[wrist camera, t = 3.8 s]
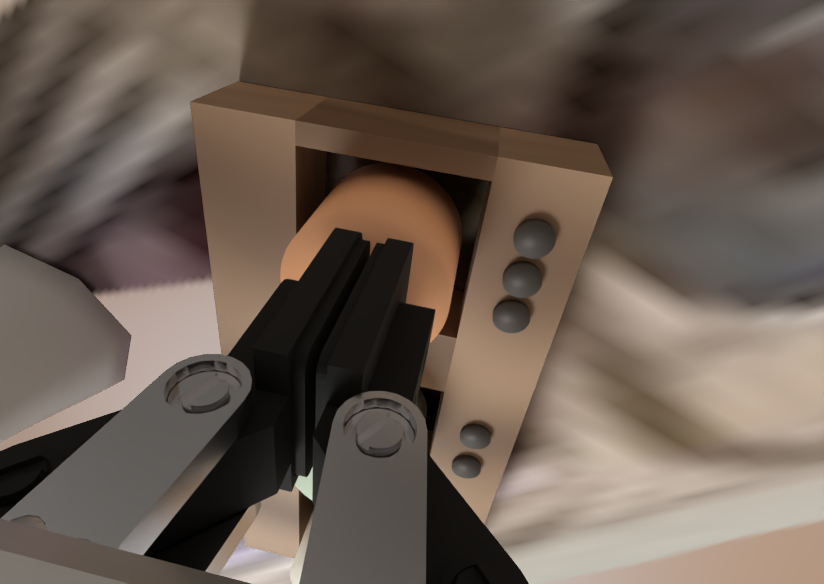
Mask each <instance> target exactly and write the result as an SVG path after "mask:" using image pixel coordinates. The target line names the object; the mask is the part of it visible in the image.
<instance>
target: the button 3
mask: <svg viewBox="0 0 824 584" xmlns="http://www.w3.org/2000/svg"><path fill="white" fill-rule="evenodd" d="M335 228H341V229H347V230H352V231H357V232H361V233H362V237H363V240H367V241H370V255H371V253H372V251H373V249H374V247H375V245H376V243H382V244H385V242H386V240H387V239H388V238H392V239H397V240H402V241H407V242H412V243H414V247H413V256H412V263H411V270H410V277H409V284H408V291H407V298H406V303H407V304H412V305H417V306H422V307H427V308H431V309H436V311H435V317H434V322H433V328H432V333H431V338H430V343H431V342H432V341H433V340H434V339H435V337H436V336H437V335H438V334H439V332H440V331H441V330H442V328H443V326H444V324H445V322H446V320H447V316H448V313H449V309H450V303H451V298H452V293H453V287H454V282H455V276H456V271H457V266H458V260H459V255H460V250H461V244H462V224H461V219H460V216H459V213H458V210H457V208H456V206H455V204H454V202H453V200H452V199H451V197H450V196H449V194H448V193H447V192H446V191H445V190H444V188H443V187H442V186H441V185H439V184H438V183H437V182H436V181H435V180H434V179H432V178H431V177H429V176H428V175H426V174H425V173H423V172H421V171H419V170H417V169H414V168H411V167H409V166H404V165H399V164H393V163H378V164H371V165H367V166H364V167H361V168H359V169H356V170H354V171H352V172H351V173H349V174H348V175H346V176H345V177H344V178H343V179H342V180H340V181H339V182H338V184H337V185H336V186H335V187H334V188H333V190H332V191H331V192H330V193H329V195H328V196H327V197H326V198H325V200H324V201H323V202H322V203H321V205H320V206H319V207H318V208H317V209H316V211H315V212H314V213H313V214H312V216H311V217H310V218H309V219H308V221H307V222H306V223H305V224H304V226H303V227H302V228H301V229H300V231H299V232H298V233H297V234H296V236H295V237H294V238H293V239H292V240H291V242H290V244H289V245H288V247H287V249H286V251H285V253H284V256H283V258H282V263H281V271H280V279H281V282H282V281H283V280H284V279H292V280H297V281H299V279H300V278H301V276H302V275H303V273H304V272H305V270H306V269H307V268H308V266H309V265H310V263H311V262H312V260H313V259H314V257H315V256H316V254H317V253H318V252H319V250H320V249H321V247H322V246H323V244H324V243H325V241H326V240H327V238H328V237H329V236H330V234H331V233H332V231H333V230H334V229H335Z"/></svg>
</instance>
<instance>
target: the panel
mask: <svg viewBox="0 0 824 584" xmlns="http://www.w3.org/2000/svg"><path fill="white" fill-rule="evenodd" d="M190 105H191V113H192V121H193V129H194V137H195V145H196V153H197V161H198V169H199V177H200V185H201V193H202V201H203V209H204V217H205V225H206V233H207V241H208V249H209V257H210V265H211V273H212V281H213V289H214V297H215V305H216V313H217V321H218V329H219V337H220V345H221V353H222V355H225V356H227V355H228V354H229V353H230V351H231V350H232V349H233V347H234V346H235V345H236V343H237V342H238V340H239V339H240V338H241V336H242V335H243V334H244V332H245V331H246V330H247V328H248V327H249V325H250V324H251V323H252V321H253V320H254V319H255V317H256V316H257V315H258V313H259V312H260V311H261V309H262V308H263V306H264V305H265V304H266V302H267V301H268V300H269V298H270V297H271V296H272V294H273V293H274V292H275V290H276V289H277V287H278V286H279V285H280V283H281V279H280V271H281V263H282V258H283V256H284V253H285V251H286V249H287V247H288V245H289V244H290V242H291V240H292V239H293V238H294V237H295V236H296V234H297V233H298V232H299V231H300V229H301V228H302V227H303V226H304V224H305V223H306V222H307V221H308V219H309V218H310V217H311V216H312V214H313V213H314V212H315V211H316V209H317V208H318V207H319V206H320V205H321V203H322V202H323V201H324V200H325V189H326V152H327V151H328V152H333V153H339V154H344V155H350V156H355V157H361V158H366V159H371V160H377V161H382V162H388V163H393V164H399V165H404V166H410V167H415V168H421V169H426V170H432V171H437V172H443V173H448V174H454V175H459V176H465V177H470V178H476V179H481V180H487V181H488V185H487V190H486V194H485V199H484V203H483V208H482V212H481V217H480V221H479V226H478V230H477V235H476V239H475V244H474V248H473V253H472V257H471V262H470V266H469V271H468V275H467V280H466V284H465V289H464V291H460V290H455V289H453V293H452V298H451V303H450V309H449V313H448V316H447V320H446V322H445V324H444V326H443V328H442V330H441V331H440V332H439V334H438V335H437V336H436V337H435V339H434V340H433V341H432V342H431V343H429V348H428V353H427V358H426V363H425V367H424V372H423V376H422V380H421V385H420V387H424V388H429V389H434V390H438V391H442V392H441V397H440V401H439V406H438V410H437V415H436V419H435V424H434V428H433V431H430V430H427V453H428V454H429V455H430V456H431V458H432V459H433V460H434V462H435V463H436V464H437V465H438V467H439V468H440V469H441V470H442V472H443V473H444V474H445V475H446V477H447V478H448V479H449V480H450V482H451V483H452V484H453V486H454V487H455V488H456V489H457V491H458V492H459V493H460V494H461V496H462V497H463V498H464V499H465V501H466V502H467V503H468V505H469V506H470V507H471V508H472V510H473V511H474V512H475V513H476V515H477V516H478V517H479V518H480V520H481V521H482V522H483V523H484V524H485V522H486V519H487V516H488V514H489V511H490V508H491V505H492V503H493V500H494V497H495V495H496V492H497V489H498V487H499V484H500V481H501V478H502V476H503V473H504V470H505V468H506V465H507V462H508V460H509V457H510V454H511V451H512V449H513V446H514V443H515V441H516V438H517V435H518V433H519V430H520V427H521V424H522V422H523V419H524V416H525V414H526V411H527V408H528V406H529V403H530V400H531V397H532V395H533V392H534V389H535V387H536V384H537V381H538V378H539V376H540V373H541V370H542V368H543V365H544V362H545V360H546V357H547V354H548V351H549V349H550V346H551V343H552V341H553V338H554V335H555V333H556V330H557V327H558V324H559V322H560V319H561V316H562V314H563V311H564V308H565V306H566V303H567V300H568V297H569V295H570V292H571V289H572V287H573V284H574V281H575V279H576V276H577V273H578V270H579V268H580V265H581V262H582V260H583V257H584V254H585V252H586V249H587V246H588V243H589V241H590V238H591V235H592V233H593V230H594V227H595V225H596V222H597V219H598V216H599V214H600V211H601V208H602V206H603V203H604V200H605V198H606V195H607V192H608V189H609V187H610V184H611V181H612V179H613V176H612V174H611V172H610V170H609V167H608V165H607V163H606V161H605V159H604V157H603V155H602V153H601V150H600V148H599V146H598V144H595V143H589V142H583V141H577V140H572V139H566V138H560V137H554V136H549V135H543V134H537V133H531V132H526V131H520V130H514V129H508V128H503V127H497V126H491V125H486V124H480V123H474V122H468V121H463V120H457V119H451V118H445V117H440V116H434V115H428V114H422V113H417V112H411V111H405V110H399V109H394V108H388V107H382V106H376V105H371V104H365V103H359V102H353V101H348V100H342V99H336V98H330V97H325V96H319V95H313V94H307V93H302V92H296V91H290V90H284V89H279V88H273V87H267V86H261V85H256V84H250V83H244V82H236V83H233V84H231V85H228V86H226V87H224V88H221V89H219V90H217V91H214V92H212V93H210V94H207V95H205V96H203V97H200V98H198V99H195V100H193V101H191V102H190ZM313 508H314V504H313V502H312V500H311V499H309V498H308V497H307V496H305V495H304V494H303V493H302V492H301V491H300V490H299V489H298V488H297V487H296V486H294V488H293V490H292V492H289V491H285V490H281V489H279V491H278V493H277V494H275V495H273V496H271V497H269V498H267V499H265V500H263V501H262V506H261V508H260V510H259V513H258V515H257V517H256V518H255V520H254V521H253V523H252V524H251V526H250V528H249V529H248V531H247V532H246V534H245V535H244V538H245V546H247V547H251V548H255V549H259V550H263V551H267V552H272V553H276V554H280V555H284V556H288V557H292V558H295V557H296V554H297V552H298V549H299V546H300V543H301V541H302V538H303V535H304V533H305V530H306V527H307V524H308V522H309V519H310V516H311V514H312V511H313Z"/></svg>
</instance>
